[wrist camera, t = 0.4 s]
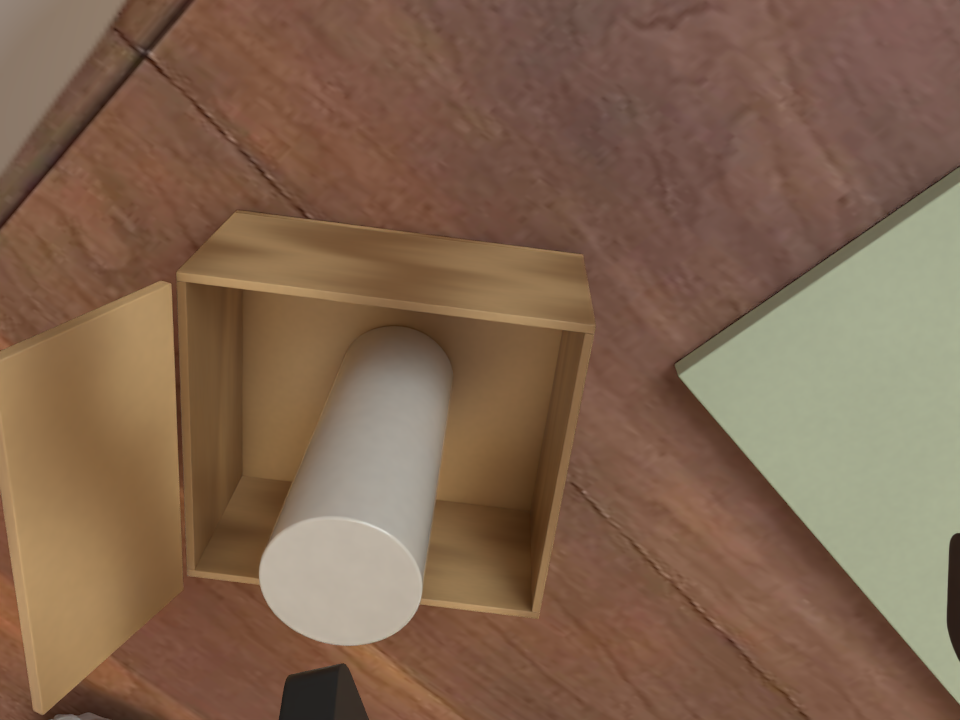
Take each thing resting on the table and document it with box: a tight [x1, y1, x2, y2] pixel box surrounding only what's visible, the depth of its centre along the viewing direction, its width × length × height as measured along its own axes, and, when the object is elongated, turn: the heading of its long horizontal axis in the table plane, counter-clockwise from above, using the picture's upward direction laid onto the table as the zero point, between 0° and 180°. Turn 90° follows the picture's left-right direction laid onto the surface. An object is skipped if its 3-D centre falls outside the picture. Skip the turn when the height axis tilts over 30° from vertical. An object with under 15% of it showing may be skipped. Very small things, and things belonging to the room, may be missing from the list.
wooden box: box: [176, 210, 596, 619], centre depth 32 cm, size 13×12×6 cm
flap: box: [0, 281, 183, 715], centre depth 26 cm, size 6×12×1 cm
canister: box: [259, 326, 454, 646], centre depth 29 cm, size 4×4×12 cm
